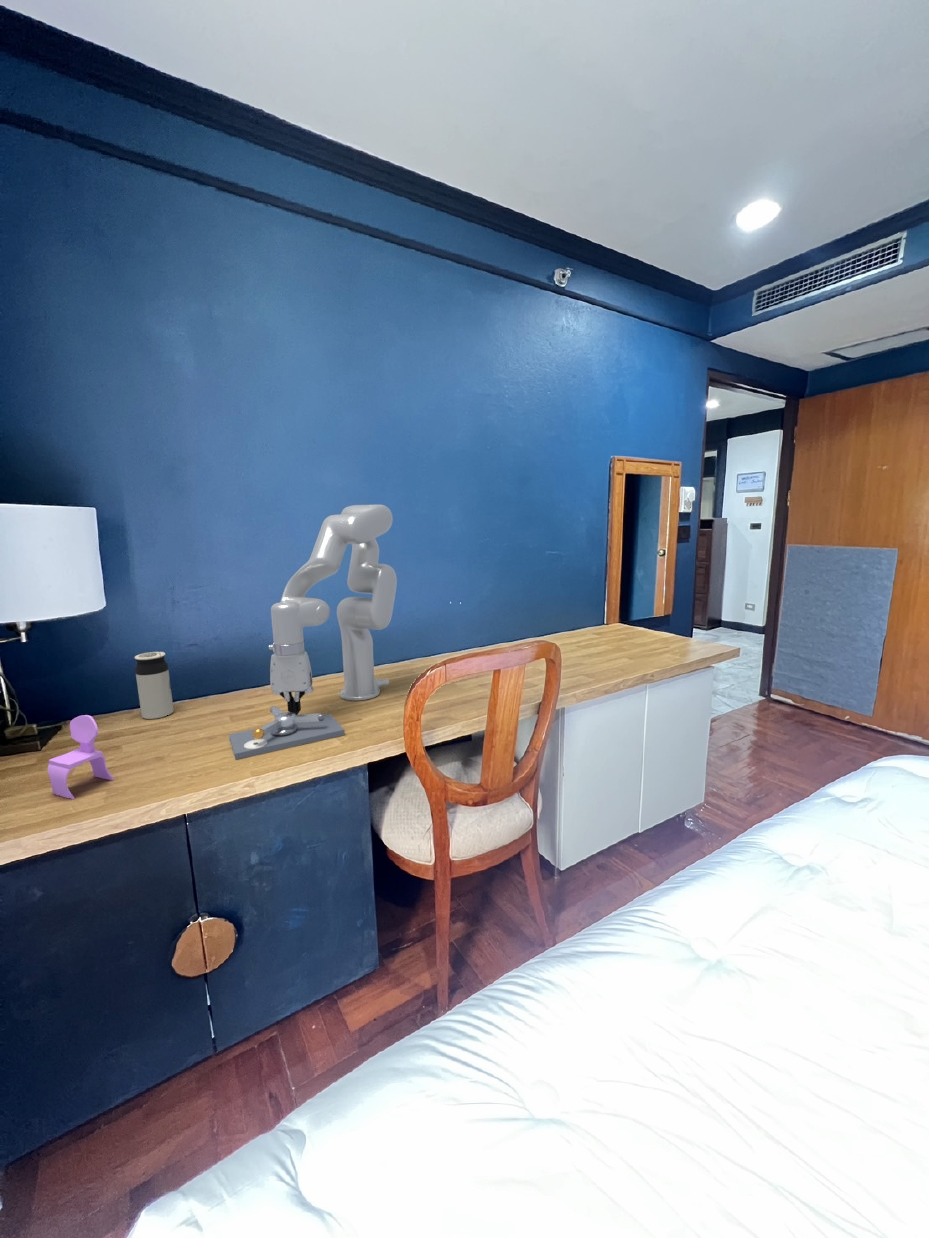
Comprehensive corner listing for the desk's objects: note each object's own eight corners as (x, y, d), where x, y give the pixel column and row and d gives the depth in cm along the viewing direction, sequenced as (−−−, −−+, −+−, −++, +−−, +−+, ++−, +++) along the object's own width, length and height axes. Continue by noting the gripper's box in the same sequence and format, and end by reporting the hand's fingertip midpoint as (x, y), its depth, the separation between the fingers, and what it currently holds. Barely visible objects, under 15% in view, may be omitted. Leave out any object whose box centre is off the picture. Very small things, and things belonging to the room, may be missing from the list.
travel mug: (139, 721, 140) (130, 659, 136) (144, 712, 147) (136, 653, 143) (172, 717, 143) (164, 656, 139) (175, 708, 150) (167, 650, 147)
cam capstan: (274, 717, 136) (273, 703, 136) (327, 726, 130) (326, 711, 129) (227, 741, 122) (226, 725, 121) (284, 752, 116) (283, 735, 115)
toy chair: (47, 794, 102) (34, 725, 99) (92, 774, 110) (81, 710, 107) (73, 801, 99) (61, 731, 96) (117, 780, 107) (107, 715, 104)
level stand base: (330, 718, 140) (330, 713, 140) (344, 735, 129) (344, 728, 129) (229, 739, 127) (228, 733, 127) (235, 759, 116) (234, 752, 116)
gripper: (255, 652, 128) (262, 720, 131) (314, 651, 128) (319, 718, 132) (265, 645, 135) (271, 709, 139) (321, 644, 136) (325, 708, 139)
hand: (294, 713), depth 135 cm, fingers closed
